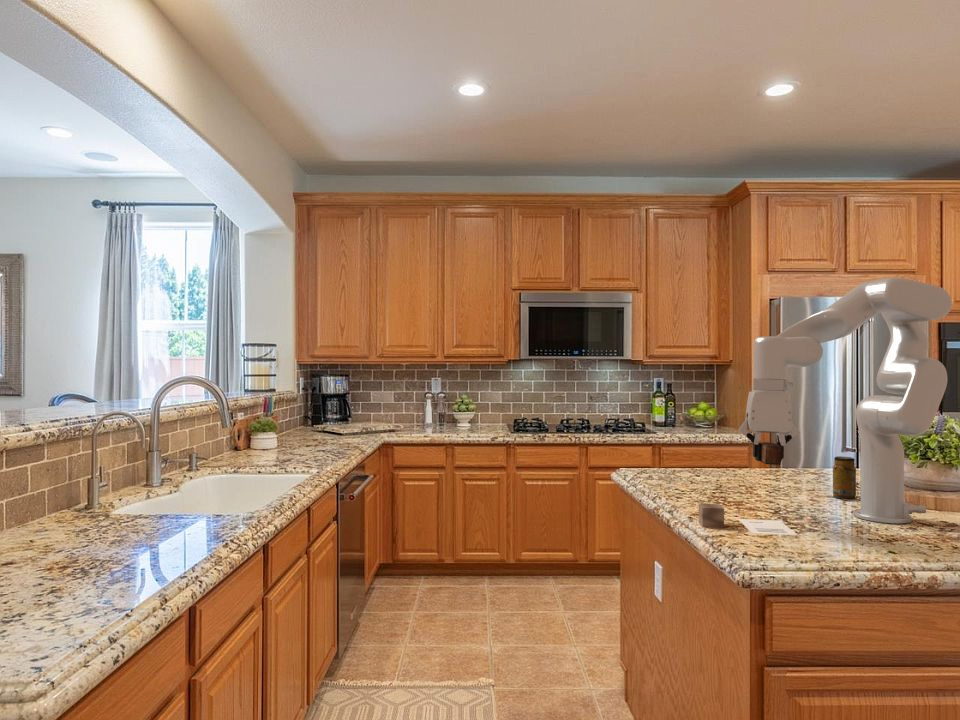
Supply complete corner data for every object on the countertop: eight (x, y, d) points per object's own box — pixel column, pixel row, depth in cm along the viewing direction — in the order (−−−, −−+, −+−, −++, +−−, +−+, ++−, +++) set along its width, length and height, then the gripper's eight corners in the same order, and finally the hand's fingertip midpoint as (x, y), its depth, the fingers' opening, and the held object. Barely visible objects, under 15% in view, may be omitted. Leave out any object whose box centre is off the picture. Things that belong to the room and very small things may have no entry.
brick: (782, 465, 150) (783, 446, 150) (765, 464, 151) (765, 445, 151) (771, 459, 161) (771, 441, 161) (754, 459, 161) (755, 440, 161)
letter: (779, 521, 160) (779, 520, 160) (797, 535, 146) (797, 534, 146) (738, 519, 162) (738, 518, 162) (751, 533, 148) (751, 532, 148)
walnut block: (719, 524, 157) (719, 504, 158) (724, 529, 153) (724, 508, 153) (698, 523, 158) (698, 503, 158) (702, 528, 153) (702, 507, 153)
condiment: (845, 494, 194) (845, 455, 194) (868, 500, 185) (867, 459, 185) (825, 495, 192) (824, 456, 192) (847, 501, 184) (846, 460, 184)
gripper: (801, 387, 158) (800, 460, 158) (730, 385, 161) (729, 457, 161) (811, 388, 151) (809, 465, 151) (736, 385, 154) (735, 461, 154)
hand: (768, 460), depth 156 cm, fingers closed on brick, 4 cm apart
